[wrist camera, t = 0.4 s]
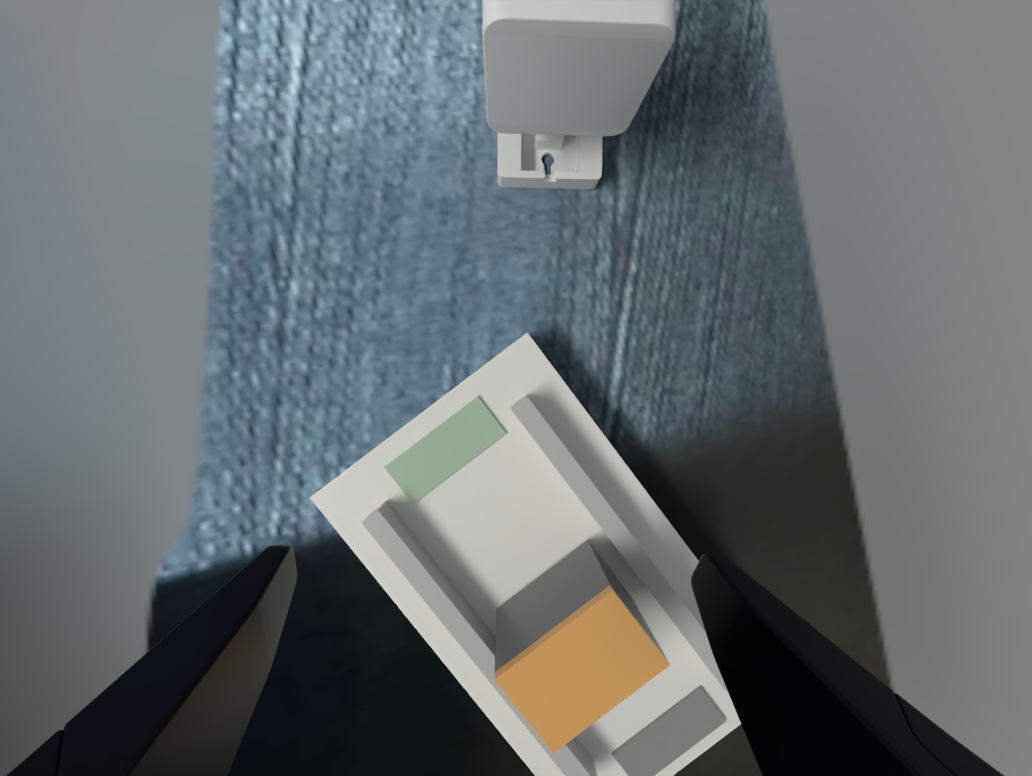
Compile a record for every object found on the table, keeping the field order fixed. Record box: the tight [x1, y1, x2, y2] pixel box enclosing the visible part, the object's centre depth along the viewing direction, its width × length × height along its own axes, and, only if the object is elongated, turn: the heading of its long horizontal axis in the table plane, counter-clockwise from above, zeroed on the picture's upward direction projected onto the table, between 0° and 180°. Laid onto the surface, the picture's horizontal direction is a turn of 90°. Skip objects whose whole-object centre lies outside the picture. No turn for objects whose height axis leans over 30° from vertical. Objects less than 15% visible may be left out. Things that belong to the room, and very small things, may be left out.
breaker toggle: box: [494, 540, 670, 753], centre depth 19 cm, size 4×6×5 cm, turn 127°
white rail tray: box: [310, 333, 741, 776], centre depth 22 cm, size 24×14×4 cm, turn 37°
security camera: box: [483, 0, 676, 189], centre depth 18 cm, size 6×7×10 cm
